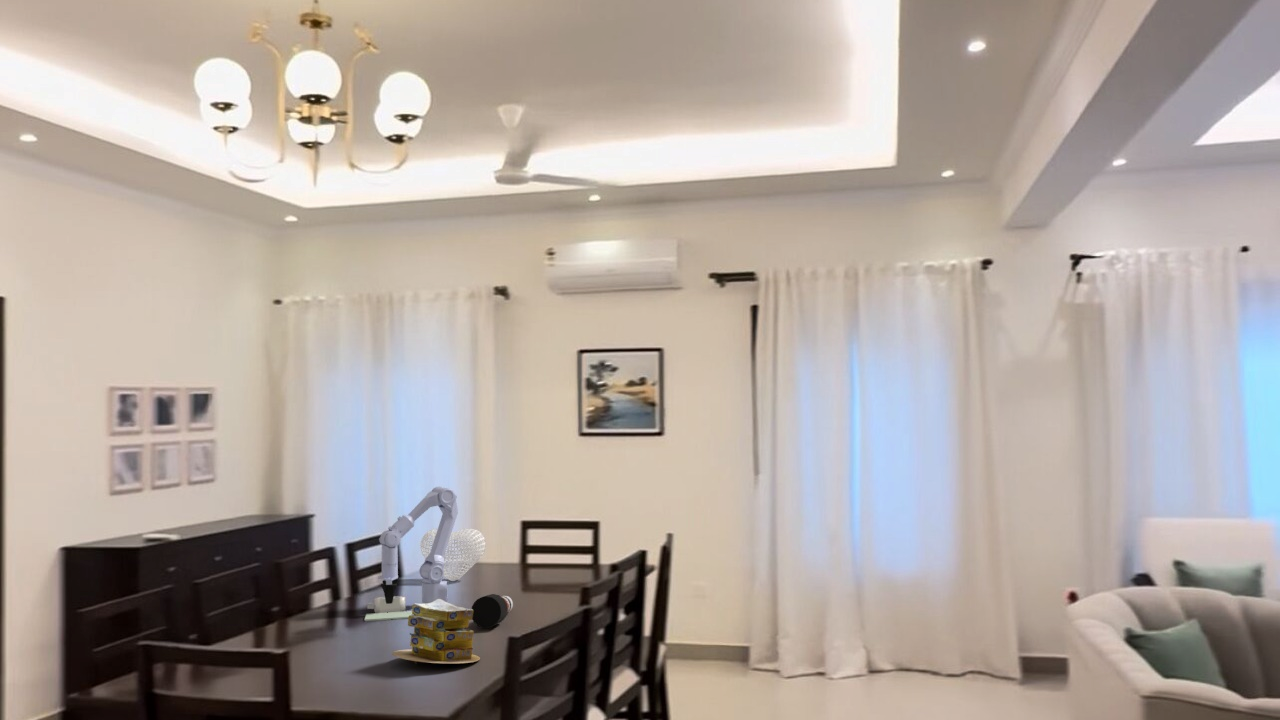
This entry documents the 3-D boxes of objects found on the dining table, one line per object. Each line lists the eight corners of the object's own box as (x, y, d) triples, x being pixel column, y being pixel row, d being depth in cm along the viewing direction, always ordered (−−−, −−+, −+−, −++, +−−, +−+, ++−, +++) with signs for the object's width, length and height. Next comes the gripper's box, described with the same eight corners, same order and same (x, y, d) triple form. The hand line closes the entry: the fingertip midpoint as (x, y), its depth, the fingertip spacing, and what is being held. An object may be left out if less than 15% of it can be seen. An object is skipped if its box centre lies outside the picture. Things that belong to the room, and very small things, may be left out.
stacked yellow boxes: (452, 647, 296) (451, 592, 297) (496, 662, 277) (495, 603, 278) (377, 662, 280) (376, 604, 281) (418, 679, 261) (417, 616, 262)
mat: (412, 612, 350) (412, 611, 350) (411, 618, 340) (411, 616, 340) (366, 615, 346) (366, 613, 346) (364, 621, 337) (364, 619, 337)
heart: (490, 577, 422) (489, 526, 423) (480, 584, 406) (479, 530, 408) (427, 577, 425) (427, 526, 426) (415, 584, 409) (415, 531, 411)
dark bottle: (513, 622, 351) (526, 596, 352) (492, 633, 318) (506, 605, 319) (489, 609, 353) (502, 583, 354) (465, 619, 319) (479, 590, 320)
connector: (405, 609, 356) (405, 595, 356) (405, 611, 352) (405, 597, 352) (367, 611, 353) (367, 597, 354) (367, 613, 349) (367, 599, 350)
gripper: (379, 561, 360) (379, 598, 359) (377, 567, 346) (377, 605, 345) (398, 560, 362) (398, 597, 361) (397, 566, 348) (397, 604, 347)
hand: (389, 601), depth 353 cm, fingers open, 7 cm apart
